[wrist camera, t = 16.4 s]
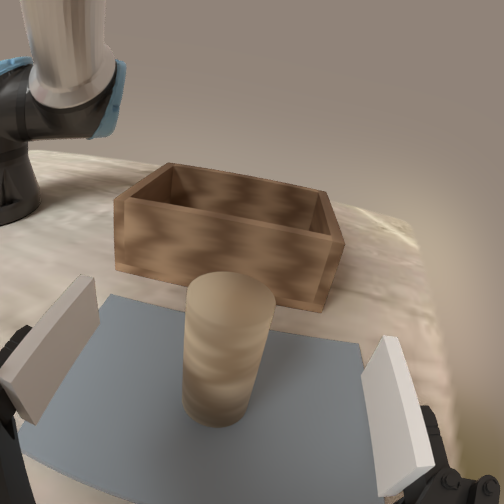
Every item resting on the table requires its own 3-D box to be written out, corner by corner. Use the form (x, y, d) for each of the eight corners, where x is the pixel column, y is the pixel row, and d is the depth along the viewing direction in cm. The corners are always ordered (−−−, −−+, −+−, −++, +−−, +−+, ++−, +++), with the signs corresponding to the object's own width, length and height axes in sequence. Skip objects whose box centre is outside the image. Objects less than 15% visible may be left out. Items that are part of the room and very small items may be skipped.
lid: (20, 453, 13) (-54, 341, 8) (111, 306, 28) (105, 201, 24) (375, 529, 13) (485, 456, 8) (352, 355, 28) (396, 258, 23)
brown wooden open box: (115, 270, 33) (113, 199, 29) (164, 214, 47) (168, 162, 43) (321, 313, 32) (345, 243, 29) (312, 243, 46) (326, 191, 43)
